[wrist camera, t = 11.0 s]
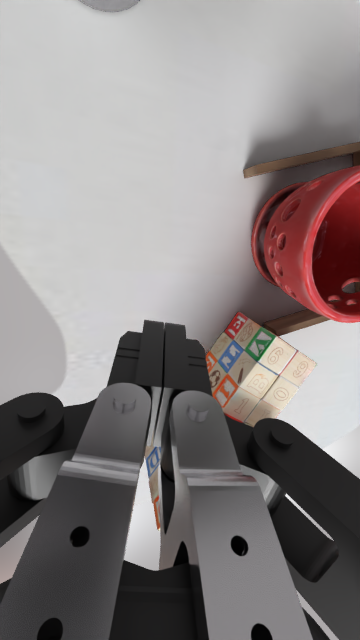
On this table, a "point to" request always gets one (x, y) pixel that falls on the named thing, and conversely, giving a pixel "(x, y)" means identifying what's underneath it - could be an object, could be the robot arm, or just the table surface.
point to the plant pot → (313, 243)
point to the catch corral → (305, 316)
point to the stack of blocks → (245, 380)
